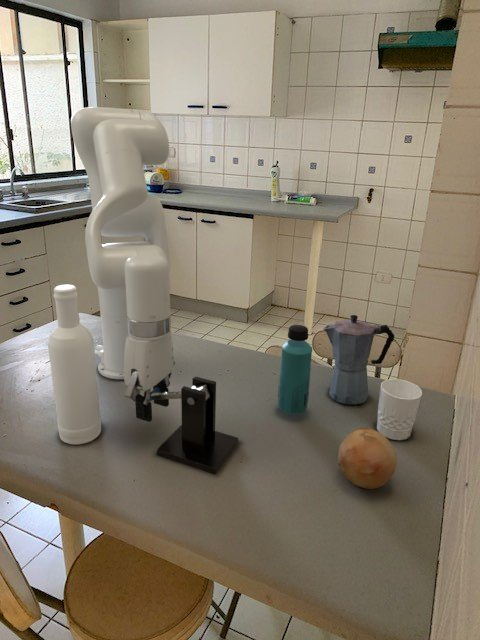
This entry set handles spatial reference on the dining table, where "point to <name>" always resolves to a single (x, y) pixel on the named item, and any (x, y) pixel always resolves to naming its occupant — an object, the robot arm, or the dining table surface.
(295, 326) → the beverage bottle
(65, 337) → the bottle
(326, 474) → the dining table surface
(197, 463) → the bracket
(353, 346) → the moka pot
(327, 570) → the dining table surface
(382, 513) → the dining table surface
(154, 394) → the lever
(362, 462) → the onion
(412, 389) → the white cup
